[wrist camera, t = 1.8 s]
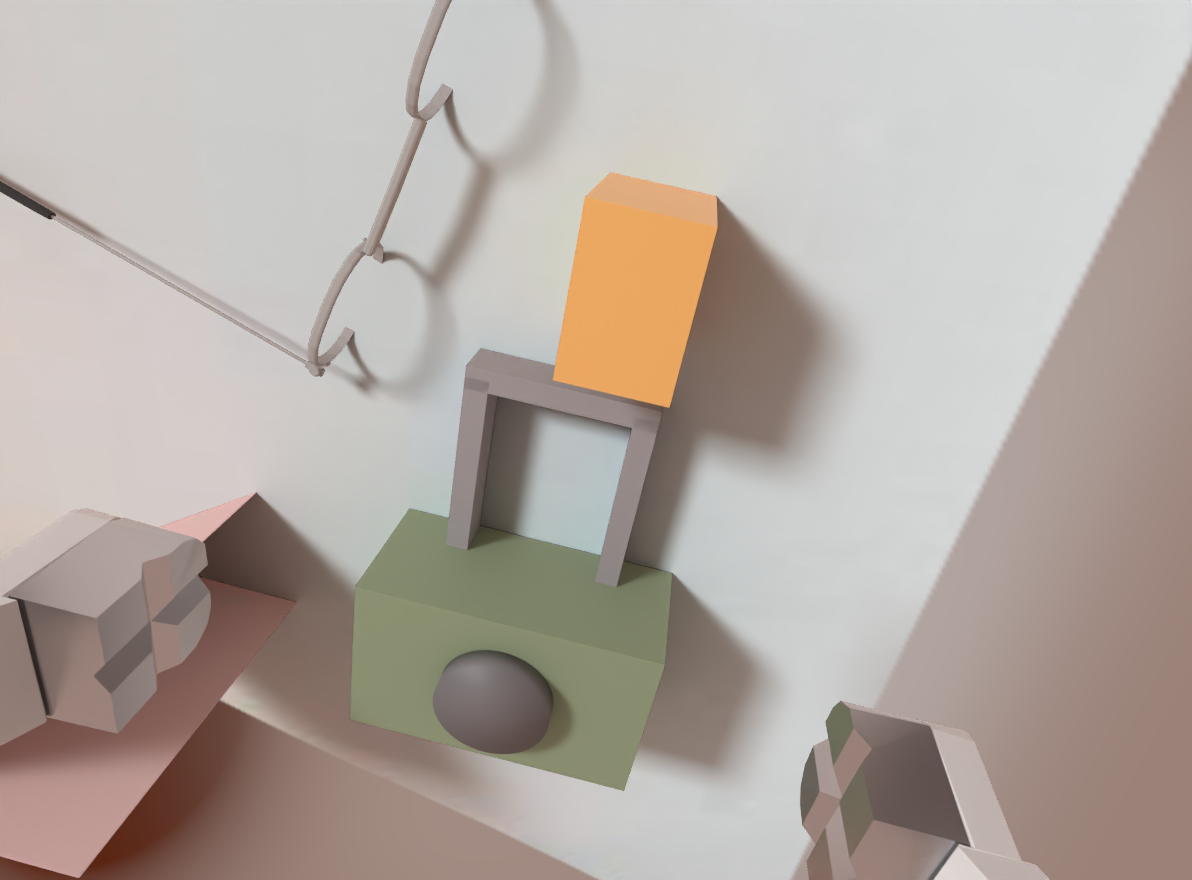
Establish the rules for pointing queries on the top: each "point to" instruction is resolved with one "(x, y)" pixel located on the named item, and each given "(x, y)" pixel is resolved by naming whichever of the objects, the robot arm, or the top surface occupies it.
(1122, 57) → the top surface
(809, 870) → the robot arm
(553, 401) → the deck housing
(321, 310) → the eyeglasses
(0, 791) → the greeting card
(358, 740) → the top surface
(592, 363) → the chute block
